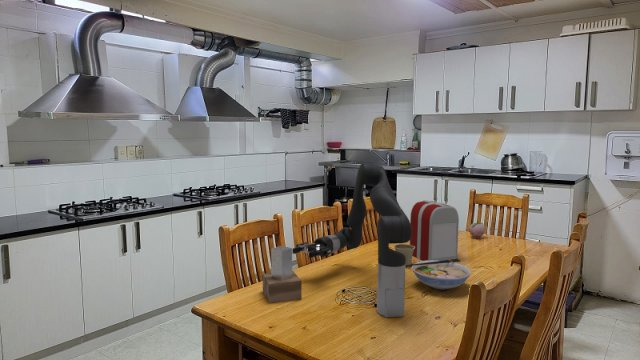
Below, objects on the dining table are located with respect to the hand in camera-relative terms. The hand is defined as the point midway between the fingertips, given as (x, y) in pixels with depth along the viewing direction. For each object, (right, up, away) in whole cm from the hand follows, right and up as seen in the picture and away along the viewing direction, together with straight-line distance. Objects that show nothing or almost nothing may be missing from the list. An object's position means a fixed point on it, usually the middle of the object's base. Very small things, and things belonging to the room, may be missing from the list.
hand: (301, 253), depth 172 cm
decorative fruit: (+97, -5, +82) cm, 127 cm away
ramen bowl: (+55, -14, +3) cm, 57 cm away
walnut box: (-7, -15, -7) cm, 18 cm away
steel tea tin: (-7, -8, -7) cm, 13 cm away
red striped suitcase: (+63, -9, +44) cm, 77 cm away
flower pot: (+46, -11, +31) cm, 57 cm away
